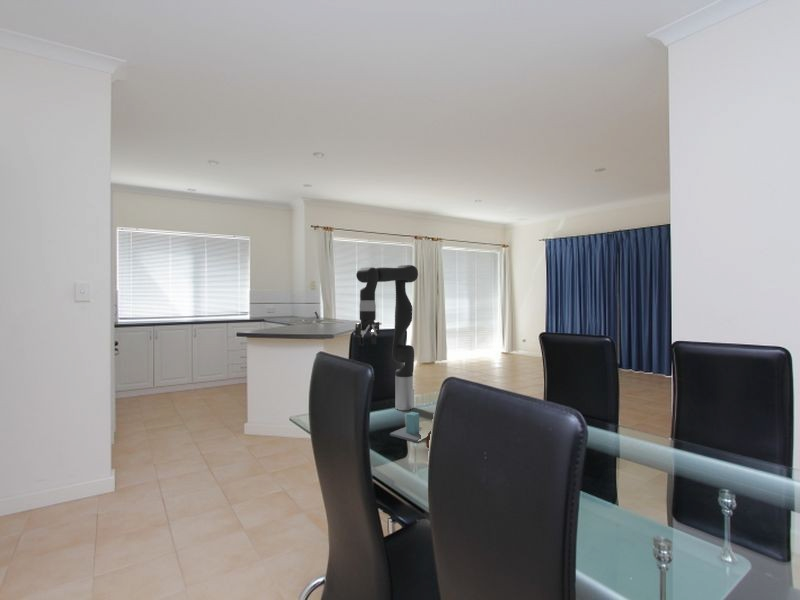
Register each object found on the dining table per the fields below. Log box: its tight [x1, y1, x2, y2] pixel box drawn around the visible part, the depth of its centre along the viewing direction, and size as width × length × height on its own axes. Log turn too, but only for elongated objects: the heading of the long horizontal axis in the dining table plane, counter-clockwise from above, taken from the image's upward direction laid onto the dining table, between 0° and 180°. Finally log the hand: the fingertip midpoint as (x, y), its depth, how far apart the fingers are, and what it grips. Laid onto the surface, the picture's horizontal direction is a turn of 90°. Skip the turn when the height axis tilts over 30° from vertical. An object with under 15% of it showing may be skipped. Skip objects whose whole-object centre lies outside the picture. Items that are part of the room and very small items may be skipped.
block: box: [405, 411, 420, 434], centre depth 176 cm, size 4×4×8 cm
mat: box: [389, 426, 423, 442], centre depth 176 cm, size 14×14×1 cm
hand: (367, 344), depth 195 cm, fingers open, 8 cm apart
